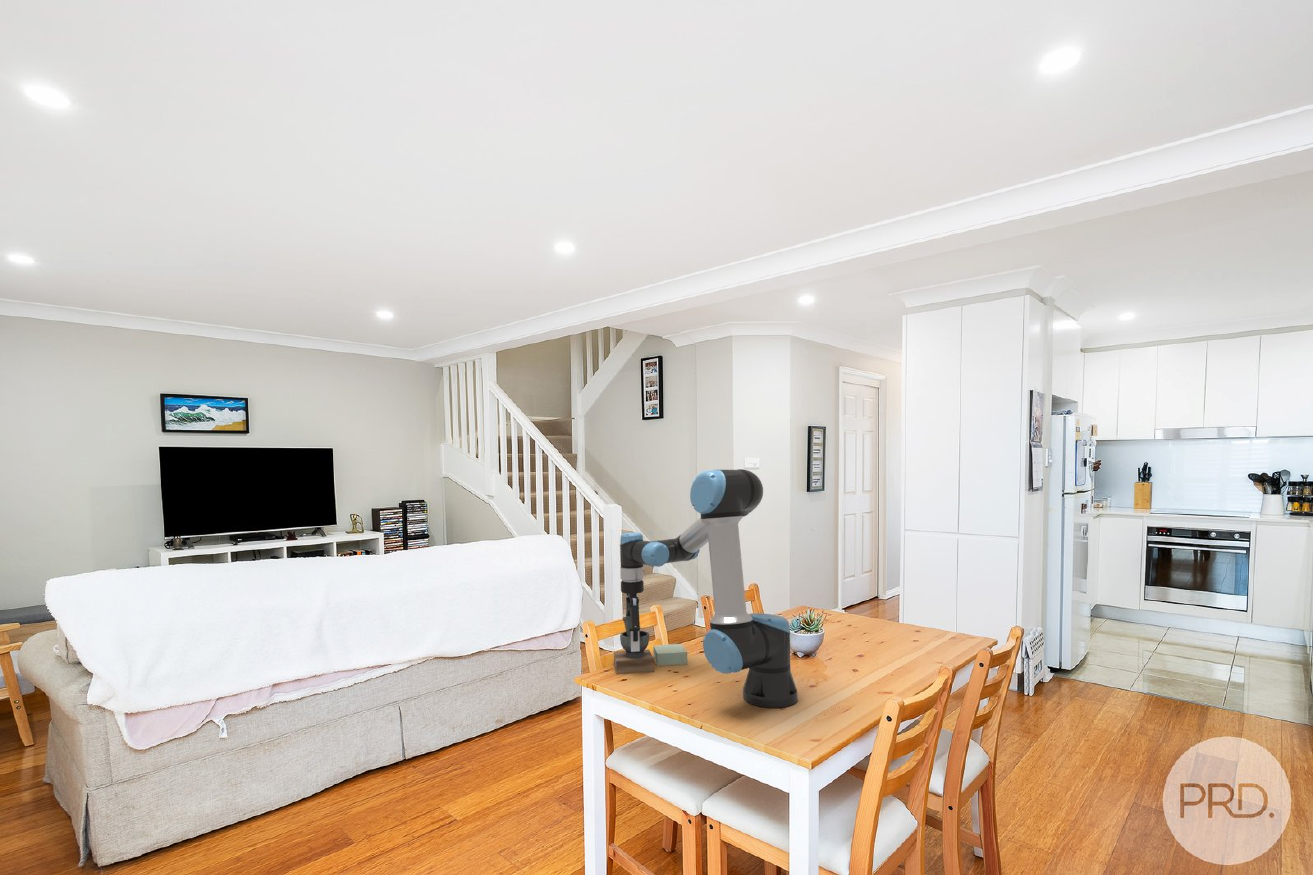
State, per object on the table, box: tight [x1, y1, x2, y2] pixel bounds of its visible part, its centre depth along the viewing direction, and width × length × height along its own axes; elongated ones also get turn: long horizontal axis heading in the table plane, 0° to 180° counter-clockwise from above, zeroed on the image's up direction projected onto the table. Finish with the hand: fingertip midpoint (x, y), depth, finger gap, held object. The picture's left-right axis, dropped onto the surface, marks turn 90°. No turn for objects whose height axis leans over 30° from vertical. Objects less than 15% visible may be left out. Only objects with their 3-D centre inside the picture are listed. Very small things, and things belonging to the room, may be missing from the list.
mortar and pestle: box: [619, 615, 650, 658], centre depth 212 cm, size 11×9×12 cm
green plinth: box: [652, 643, 688, 667], centre depth 218 cm, size 10×10×4 cm
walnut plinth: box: [613, 649, 655, 675], centre depth 211 cm, size 11×12×4 cm
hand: (633, 645), depth 211 cm, fingers open, 13 cm apart
